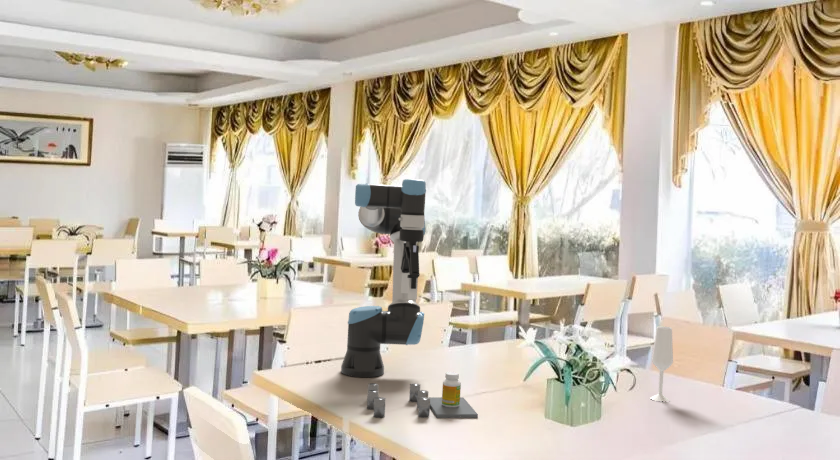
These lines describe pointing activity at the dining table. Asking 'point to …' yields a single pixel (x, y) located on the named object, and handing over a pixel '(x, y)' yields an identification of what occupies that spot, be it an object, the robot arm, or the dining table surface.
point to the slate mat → (452, 409)
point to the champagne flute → (662, 356)
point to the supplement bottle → (451, 390)
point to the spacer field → (415, 396)
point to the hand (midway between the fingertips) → (408, 296)
